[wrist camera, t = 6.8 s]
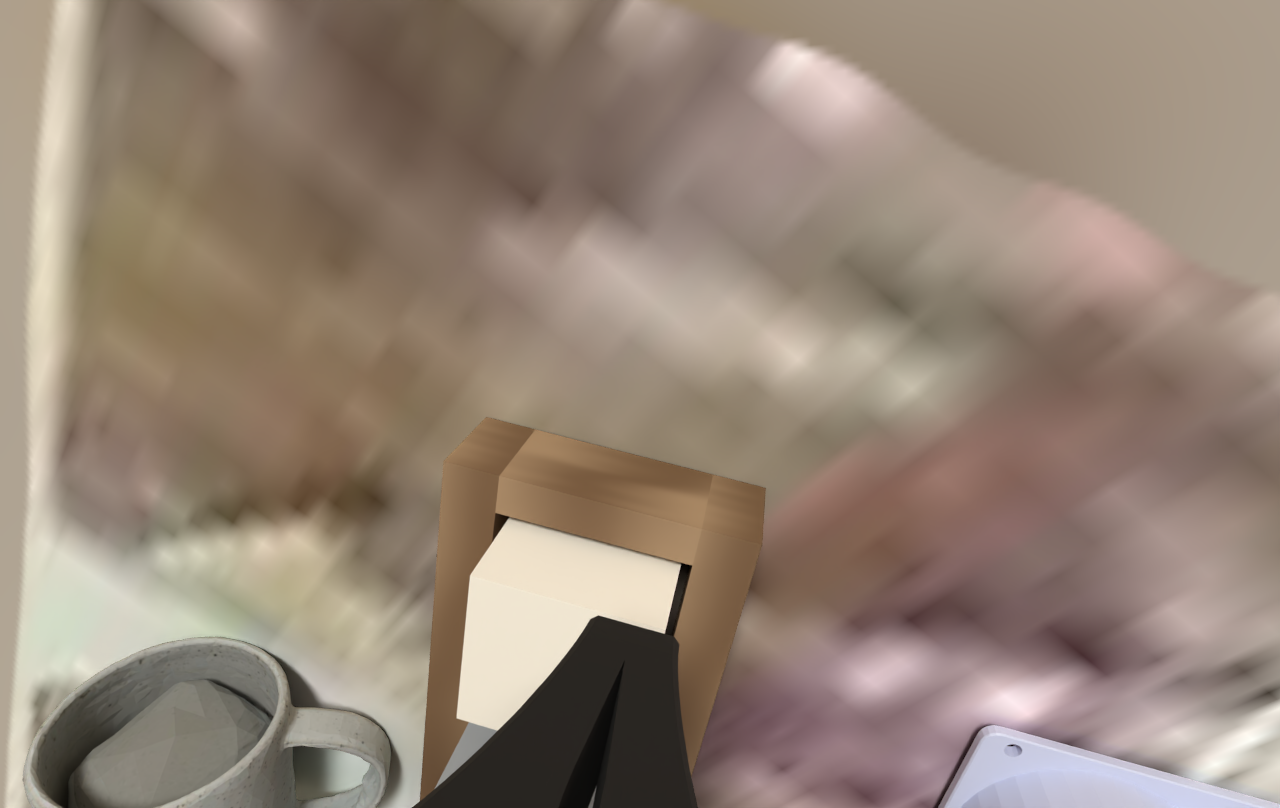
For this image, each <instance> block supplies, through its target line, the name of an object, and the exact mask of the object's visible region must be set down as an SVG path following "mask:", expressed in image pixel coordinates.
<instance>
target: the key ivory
mask: <svg viewBox="0 0 1280 808" xmlns="http://www.w3.org/2000/svg"><path fill="white" fill-rule="evenodd" d="M680 567H681V563H680V562H677V561H673V560H669V559H665V558H662V557H658V556H654V555H651V554H647V553H643V552H639V551H636V550H632V549H628V548H624V547H621V546H617V545H613V544H610V543H606V542H602V541H598V540H595V539H591V538H587V537H583V536H580V535H576V534H572V533H569V532H565V531H561V530H557V529H554V528H550V527H546V526H542V525H539V524H535V523H531V522H528V521H524V520H520V519H516V518H513V517H509V519H508V520H507V522H506V523H505V525H504V526H503V527H502V529H501V530H500V532H499V533H498V535H497V536H496V538H495V539H494V541H493V542H492V544H491V545H490V547H489V548H488V550H487V551H486V553H485V554H484V556H483V557H482V558H481V560H480V561H479V563H478V564H477V566H476V567H475V569H474V570H473V572H472V573H471V575H470V581H469V591H468V602H467V612H466V623H465V633H464V644H463V654H462V665H461V675H460V686H459V696H458V707H457V717H456V718H457V719H460V720H464V721H467V722H470V723H474V724H477V725H480V726H484V727H487V728H490V729H494V730H497V731H498V730H499V729H500V728H501V727H502V726H503V725H504V724H505V723H506V722H507V721H508V720H509V719H510V718H511V717H512V716H513V715H514V714H515V713H516V712H517V711H518V710H519V709H520V708H521V706H522V705H523V704H524V703H525V702H526V701H527V700H528V699H529V697H530V696H531V695H532V694H533V693H534V692H535V691H536V690H537V688H538V687H539V686H540V685H541V684H542V683H543V682H544V681H545V679H546V678H547V677H548V676H549V675H550V674H551V673H552V671H553V670H554V669H555V668H556V666H557V665H558V664H559V663H560V661H561V660H562V659H563V658H564V656H565V655H566V654H567V653H568V651H569V650H570V649H571V647H572V646H573V645H574V643H575V642H576V640H577V639H578V637H579V636H580V635H581V633H582V632H583V630H584V629H585V627H586V625H587V623H588V622H589V620H590V619H591V618H593V617H596V616H598V615H599V616H603V617H606V618H610V619H613V620H617V621H621V622H624V623H628V624H631V625H635V626H638V627H642V628H646V629H649V630H653V631H656V632H660V633H663V634H665V631H666V627H667V622H668V618H669V614H670V609H671V605H672V601H673V597H674V592H675V588H676V584H677V580H678V575H679V571H680Z"/></svg>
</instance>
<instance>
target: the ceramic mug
mask: <svg viewBox="0 0 1280 808" xmlns="http://www.w3.org/2000/svg"><path fill="white" fill-rule="evenodd" d="M293 746H309V747H316V748H329V749H335V750H340V751H344V752H347V753H350V754H353V755H356V756H359V757H361V758H362V759H363V760H365V761H367V762H369V763H370V767H369V771H368V772H367V773H366V774H365V775H364V776H363V779H362V782H363V784H361V785H359V786H357V787H356V788H354V789H352V790H350V791H347V792H344V793H340V794H337V795H334V796H329V797H322V798H317V799H311V800H304V801H299V800H297V799H296V792H295V789H296V785H295V775H294V768H293ZM390 759H391V749H390V744H389V739H388V738H387V736H386V734H385V733H384V731H383V730H382V729H381V728H380V727H379V726H378V725H376V724H375V723H373V722H372V721H371V720H369V719H367V718H366V717H363V716H360V715H358V714H356V713H353V712H348V711H344V710H336V709H325V708H315V707H294V706H293V705H292V704H291V697H290V689H289V684H288V680H287V677H286V674H285V672H284V671H283V669H282V667H281V666H280V664H279V663H278V662H277V661H276V660H275V659H274V658H273V657H272V656H271V655H269V654H268V653H266V652H265V651H263V650H262V649H260V648H258V647H256V646H254V645H251V644H249V643H246V642H243V641H238V640H233V639H228V638H222V637H198V638H188V639H183V640H178V641H172V642H167V643H163V644H160V645H156V646H153V647H150V648H147V649H144V650H142V651H139V652H137V653H135V654H132V655H130V656H128V657H126V658H124V659H122V660H120V661H118V662H116V663H114V664H112V665H110V666H109V667H107V668H105V669H104V670H102V671H100V672H99V673H97V674H96V675H94V676H93V677H91V678H90V679H88V680H87V681H86V682H84V683H83V684H81V685H80V686H79V687H77V688H76V689H75V690H74V691H72V692H71V693H70V694H69V695H68V696H67V697H66V698H65V699H64V700H63V701H62V702H61V703H60V704H59V705H58V706H57V707H56V708H55V709H54V711H53V712H52V713H51V714H50V715H49V716H48V717H47V719H46V720H45V721H44V722H43V724H42V725H41V727H40V728H39V730H38V731H37V733H36V735H35V737H34V739H33V741H32V744H31V746H30V748H29V751H28V755H27V758H26V762H25V765H24V771H23V783H24V787H25V791H26V795H27V798H28V800H29V802H30V804H31V806H32V808H376V807H377V806H378V804H379V803H380V801H381V799H382V798H383V796H384V793H385V790H386V788H387V785H388V778H389V768H390Z"/></svg>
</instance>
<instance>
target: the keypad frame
mask: <svg viewBox="0 0 1280 808" xmlns="http://www.w3.org/2000/svg"><path fill="white" fill-rule="evenodd" d="M765 490H766V488H763V487H759V486H756V485H752V484H748V483H744V482H740V481H736V480H732V479H728V478H724V477H720V476H716V475H712V474H708V473H704V472H700V471H696V470H693V469H689V468H685V467H681V466H677V465H673V464H669V463H665V462H661V461H657V460H653V459H649V458H645V457H641V456H637V455H633V454H630V453H626V452H622V451H618V450H614V449H610V448H606V447H602V446H598V445H594V444H590V443H586V442H582V441H578V440H574V439H570V438H567V437H563V436H559V435H555V434H551V433H547V432H543V431H539V430H535V429H531V428H527V427H523V426H519V425H515V424H511V423H507V422H503V421H500V420H496V419H492V418H488V417H486V418H485V419H484V420H483V421H482V422H481V423H480V424H479V425H478V426H477V427H476V428H475V429H474V430H473V431H472V433H471V434H470V435H469V436H468V437H467V438H466V439H465V440H464V441H463V442H462V443H461V444H460V445H459V446H458V447H457V448H456V449H455V450H454V451H453V452H452V453H451V454H450V455H449V456H448V457H447V458H446V459H445V460H444V463H443V478H442V492H441V506H440V520H439V535H438V549H437V563H436V578H435V592H434V606H433V621H432V635H431V649H430V664H429V678H428V692H427V707H426V721H425V735H424V750H423V764H422V778H421V793H420V801H421V800H422V799H423V798H425V797H426V796H427V795H428V794H429V793H430V792H432V791H433V790H434V789H435V787H436V785H437V783H438V781H439V779H440V777H441V775H442V773H443V772H444V770H445V768H446V766H447V764H448V762H449V760H450V758H451V756H452V754H453V752H454V750H455V748H456V746H457V744H458V743H459V741H460V739H461V737H462V735H463V733H464V731H465V729H466V727H467V725H468V723H469V722H467V721H464V720H460V719H457V718H456V717H457V707H458V696H459V686H460V675H461V665H462V654H463V644H464V633H465V623H466V612H467V602H468V591H469V581H470V575H471V573H472V572H473V570H474V569H475V567H476V566H477V564H478V563H479V561H480V560H481V558H482V557H483V556H484V554H485V553H486V551H487V550H488V548H489V547H490V545H491V544H492V542H493V541H494V539H495V538H496V536H497V535H498V533H499V532H500V530H501V529H502V527H503V526H504V525H505V523H506V522H507V520H508V519H509V517H513V518H516V519H520V520H524V521H528V522H531V523H535V524H539V525H542V526H546V527H550V528H554V529H557V530H561V531H565V532H569V533H572V534H576V535H580V536H583V537H587V538H591V539H595V540H598V541H602V542H606V543H610V544H613V545H617V546H621V547H624V548H628V549H632V550H636V551H639V552H643V553H647V554H651V555H654V556H658V557H662V558H665V559H669V560H673V561H677V562H680V563H684V564H688V565H690V567H689V570H688V574H687V578H686V582H685V586H684V590H683V594H682V598H681V602H680V605H679V609H678V613H677V617H676V621H675V625H674V629H673V633H672V636H674V637H675V638H676V640H677V641H678V643H679V653H678V681H679V695H680V706H681V716H682V724H683V731H684V737H685V744H686V750H687V756H688V762H689V768H690V773H691V776H692V773H693V770H694V766H695V763H696V760H697V757H698V753H699V750H700V747H701V744H702V740H703V737H704V734H705V730H706V727H707V724H708V721H709V717H710V714H711V711H712V708H713V704H714V701H715V698H716V694H717V691H718V688H719V685H720V681H721V678H722V675H723V671H724V668H725V665H726V662H727V658H728V655H729V652H730V649H731V645H732V642H733V639H734V635H735V632H736V629H737V626H738V622H739V619H740V616H741V613H742V609H743V606H744V603H745V599H746V596H747V593H748V590H749V586H750V583H751V580H752V577H753V573H754V570H755V567H756V563H757V560H758V557H759V554H760V550H761V547H762V539H763V523H764V506H765Z"/></svg>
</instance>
